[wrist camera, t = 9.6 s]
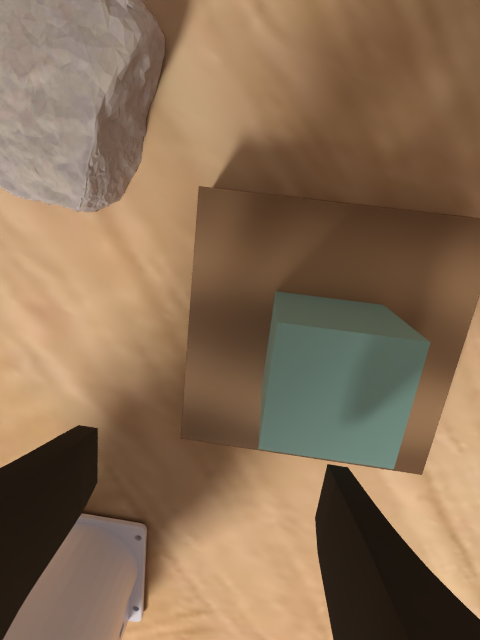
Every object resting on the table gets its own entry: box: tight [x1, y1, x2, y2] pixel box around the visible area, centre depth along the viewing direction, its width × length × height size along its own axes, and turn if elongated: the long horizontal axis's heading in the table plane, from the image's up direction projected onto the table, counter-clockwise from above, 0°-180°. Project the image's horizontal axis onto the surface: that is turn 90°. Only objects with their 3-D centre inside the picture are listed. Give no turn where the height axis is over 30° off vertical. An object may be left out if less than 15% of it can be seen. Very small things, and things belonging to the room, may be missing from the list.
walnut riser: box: [181, 186, 480, 475], centre depth 18 cm, size 13×13×3 cm
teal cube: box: [258, 291, 430, 469], centre depth 15 cm, size 5×5×5 cm
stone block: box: [0, 0, 165, 212], centre depth 16 cm, size 12×5×10 cm
